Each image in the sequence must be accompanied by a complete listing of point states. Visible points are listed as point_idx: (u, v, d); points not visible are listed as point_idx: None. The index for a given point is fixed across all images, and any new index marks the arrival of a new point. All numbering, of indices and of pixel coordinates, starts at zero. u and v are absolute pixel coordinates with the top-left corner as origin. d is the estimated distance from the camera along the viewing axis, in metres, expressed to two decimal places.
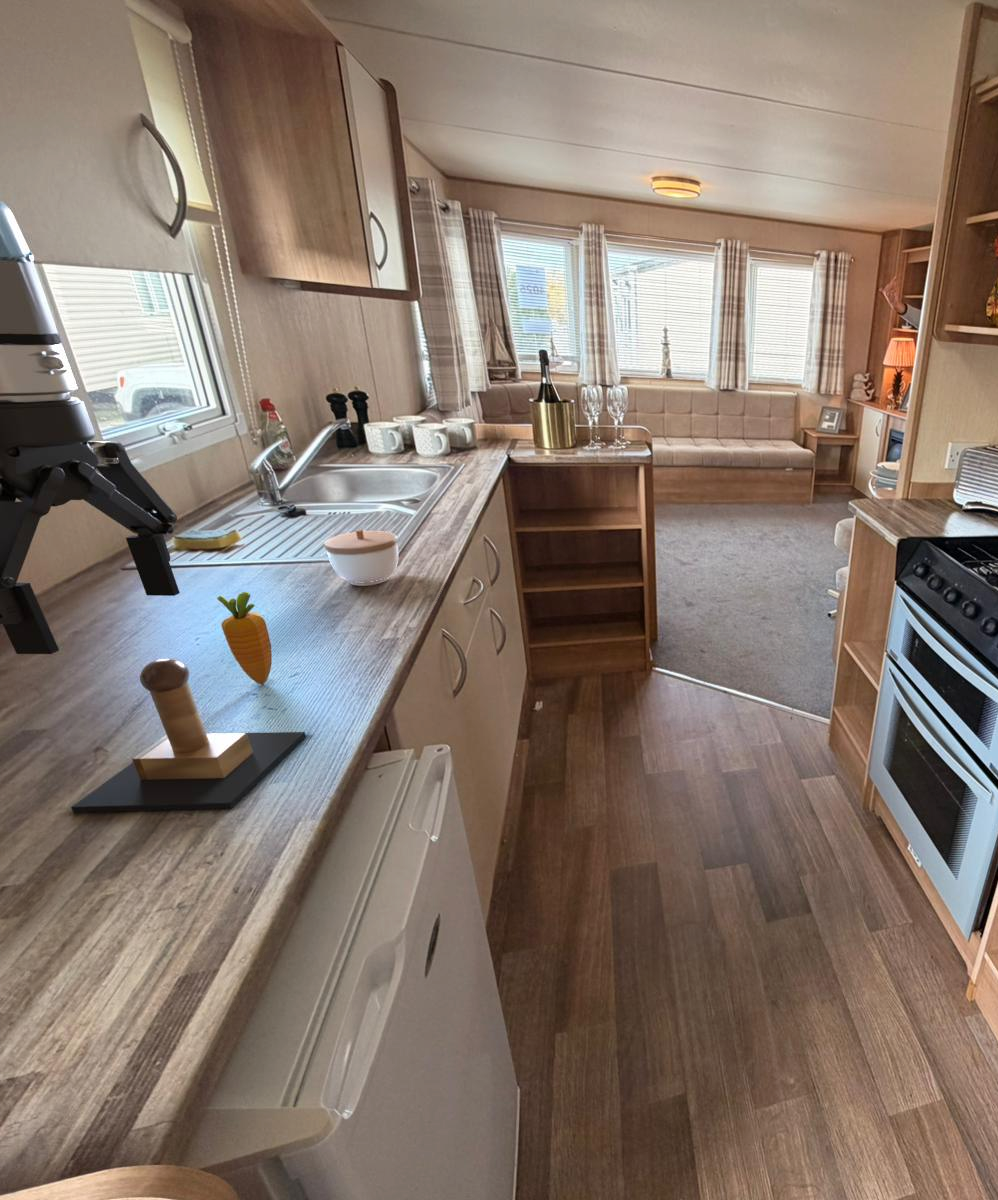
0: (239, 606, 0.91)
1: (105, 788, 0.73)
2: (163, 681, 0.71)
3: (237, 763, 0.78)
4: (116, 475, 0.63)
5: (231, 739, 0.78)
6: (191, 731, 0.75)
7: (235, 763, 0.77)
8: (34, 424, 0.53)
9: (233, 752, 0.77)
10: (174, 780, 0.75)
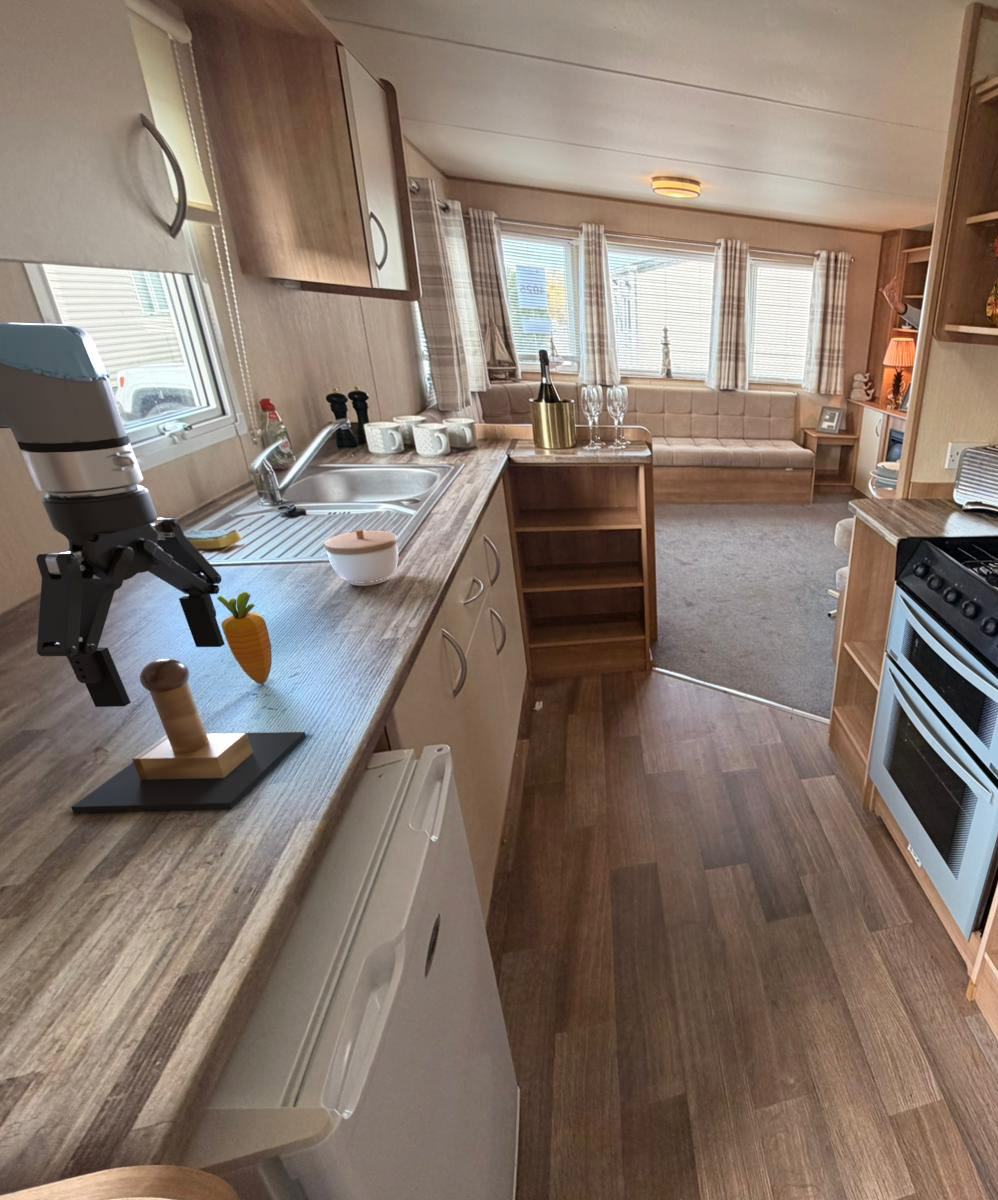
0: (239, 606, 0.91)
1: (105, 788, 0.73)
2: (163, 681, 0.71)
3: (237, 763, 0.78)
4: (171, 546, 0.73)
5: (231, 739, 0.78)
6: (191, 731, 0.75)
7: (235, 763, 0.77)
8: (110, 514, 0.63)
9: (233, 752, 0.77)
10: (174, 780, 0.75)
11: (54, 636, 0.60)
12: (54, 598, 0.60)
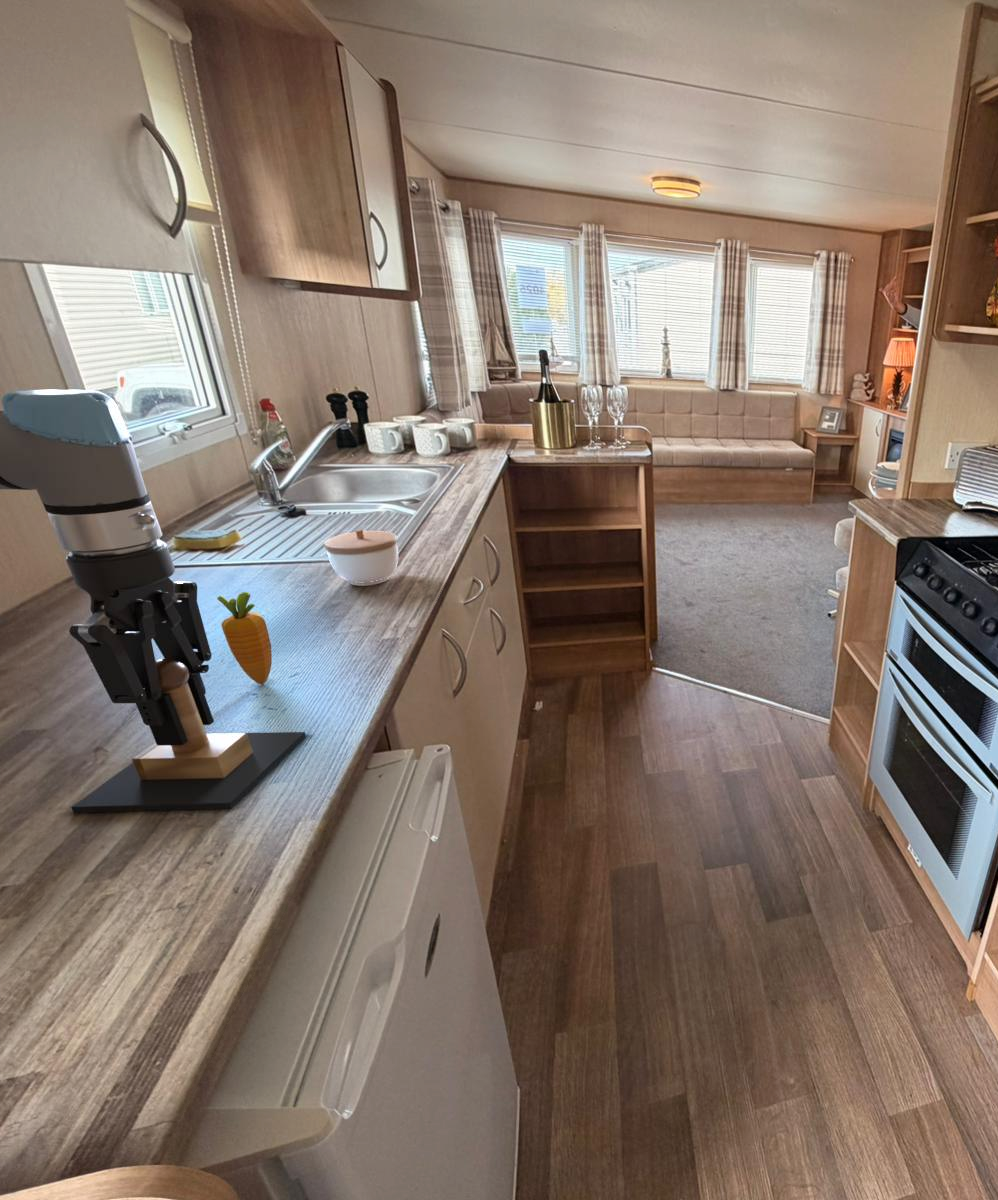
0: (239, 606, 0.91)
1: (105, 788, 0.73)
2: (163, 681, 0.71)
3: (237, 763, 0.78)
4: (179, 609, 0.74)
5: (231, 739, 0.78)
6: (191, 731, 0.75)
7: (235, 763, 0.77)
8: (131, 571, 0.65)
9: (233, 752, 0.77)
10: (174, 780, 0.75)
11: (121, 691, 0.67)
12: (104, 662, 0.65)
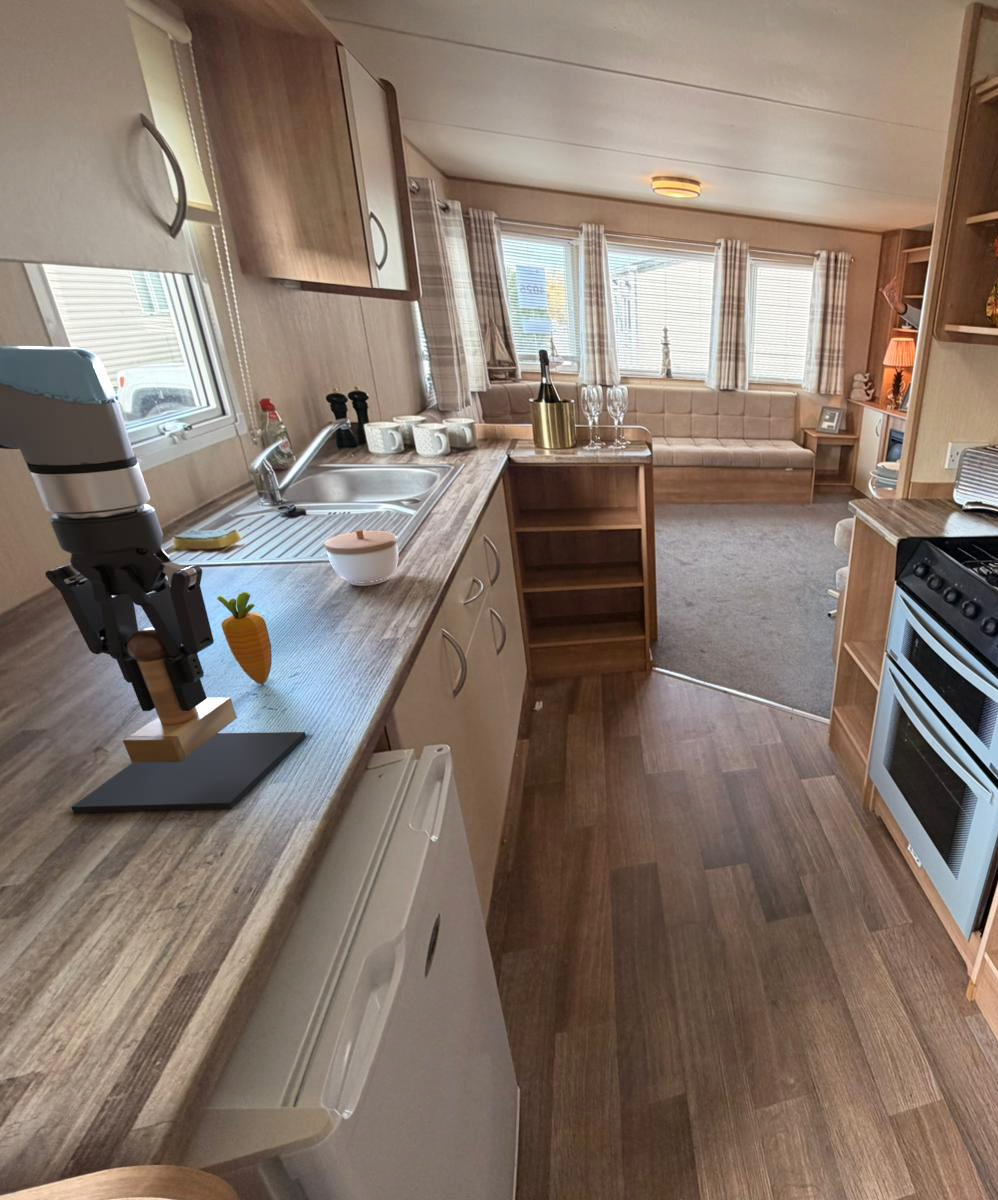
0: (239, 606, 0.91)
1: (105, 788, 0.73)
2: None
3: None
4: (86, 592, 0.68)
5: None
6: None
7: None
8: None
9: None
10: (174, 780, 0.75)
11: (204, 634, 0.71)
12: (195, 605, 0.70)
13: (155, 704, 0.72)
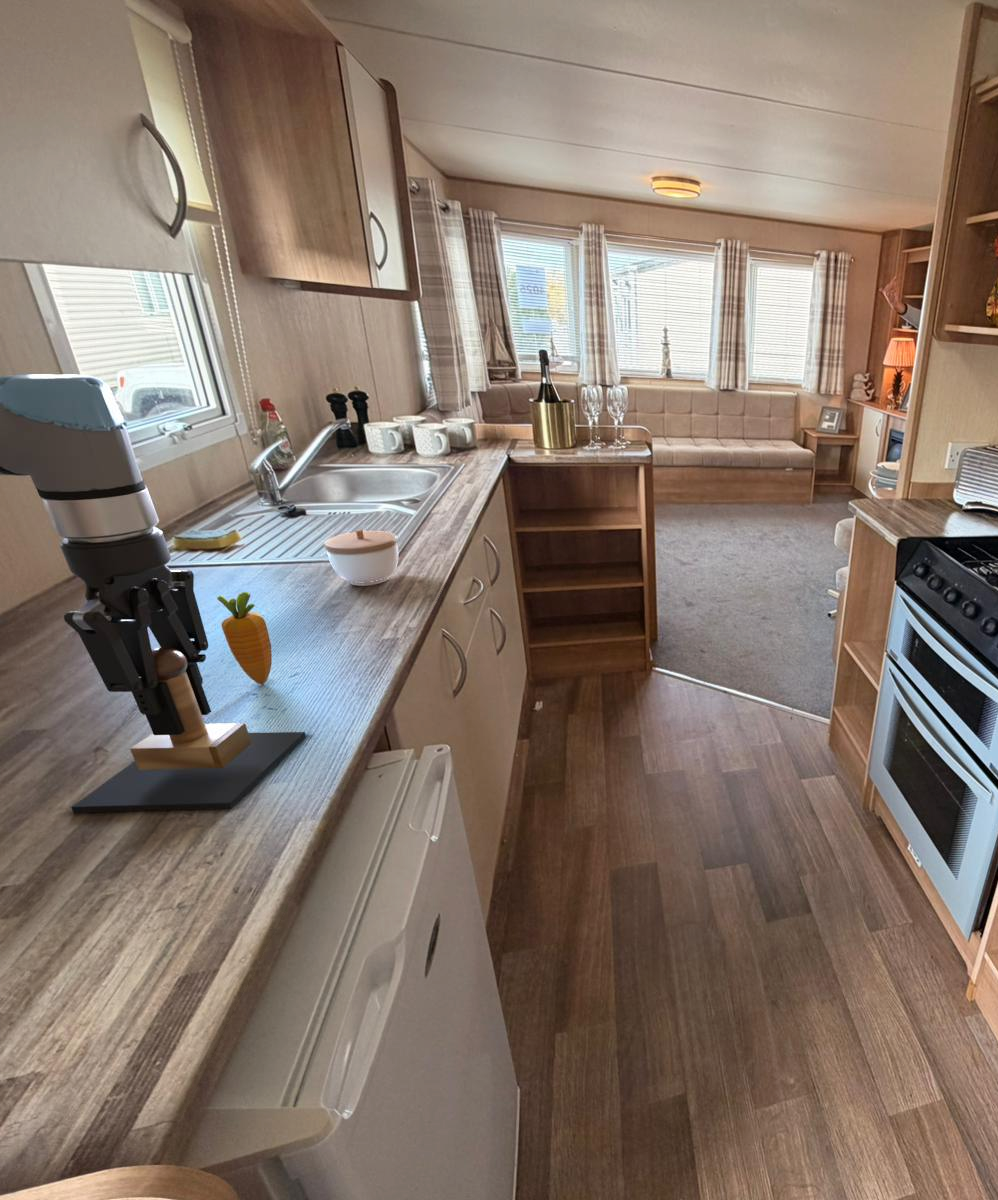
0: (239, 606, 0.91)
1: (105, 788, 0.73)
2: None
3: None
4: None
5: (146, 741, 0.74)
6: None
7: None
8: None
9: None
10: (174, 780, 0.75)
11: None
12: None
13: (191, 718, 0.74)
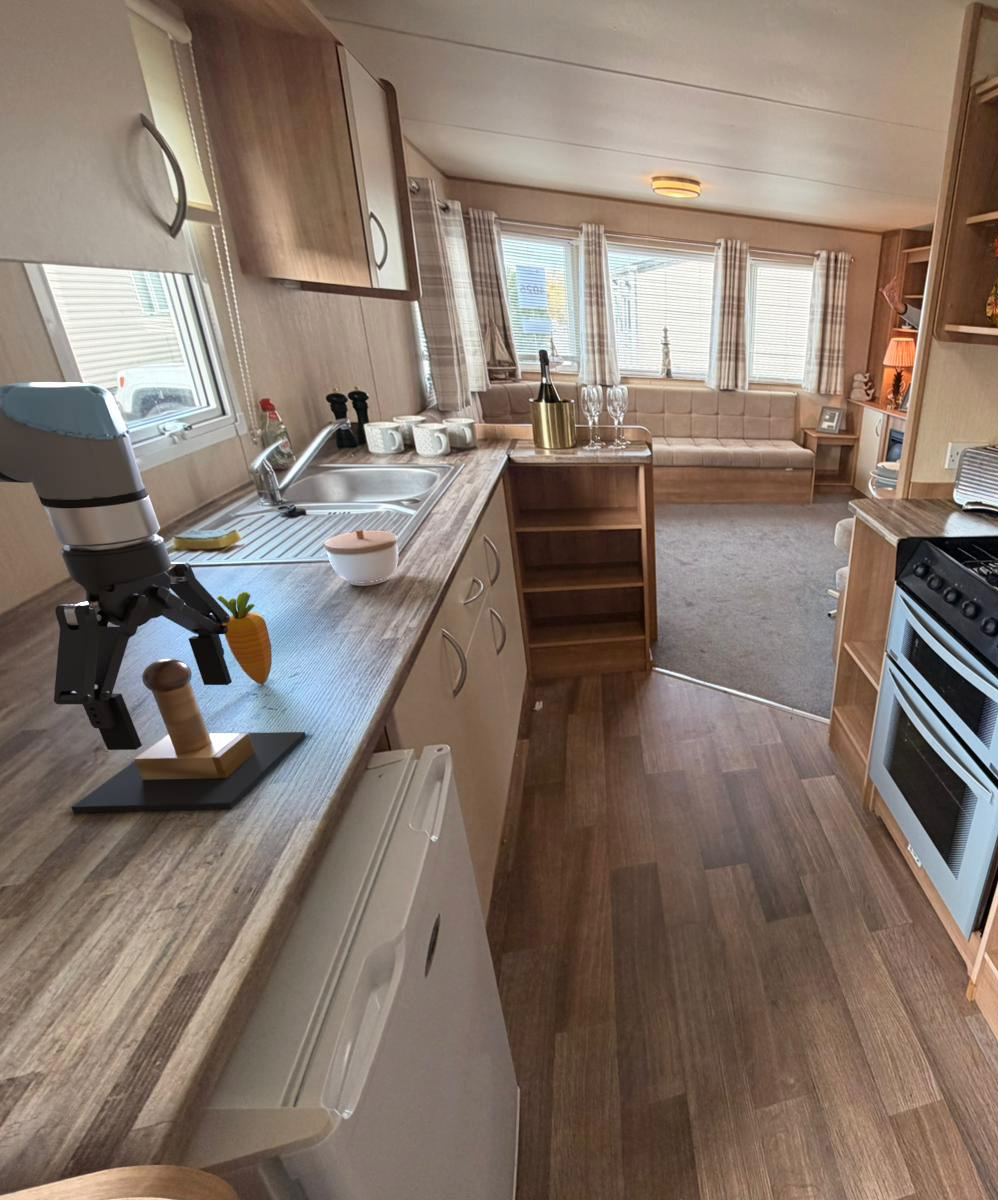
0: (239, 606, 0.91)
1: (105, 788, 0.73)
2: None
3: None
4: None
5: (150, 751, 0.75)
6: None
7: None
8: None
9: None
10: (174, 780, 0.75)
11: None
12: None
13: (195, 729, 0.75)
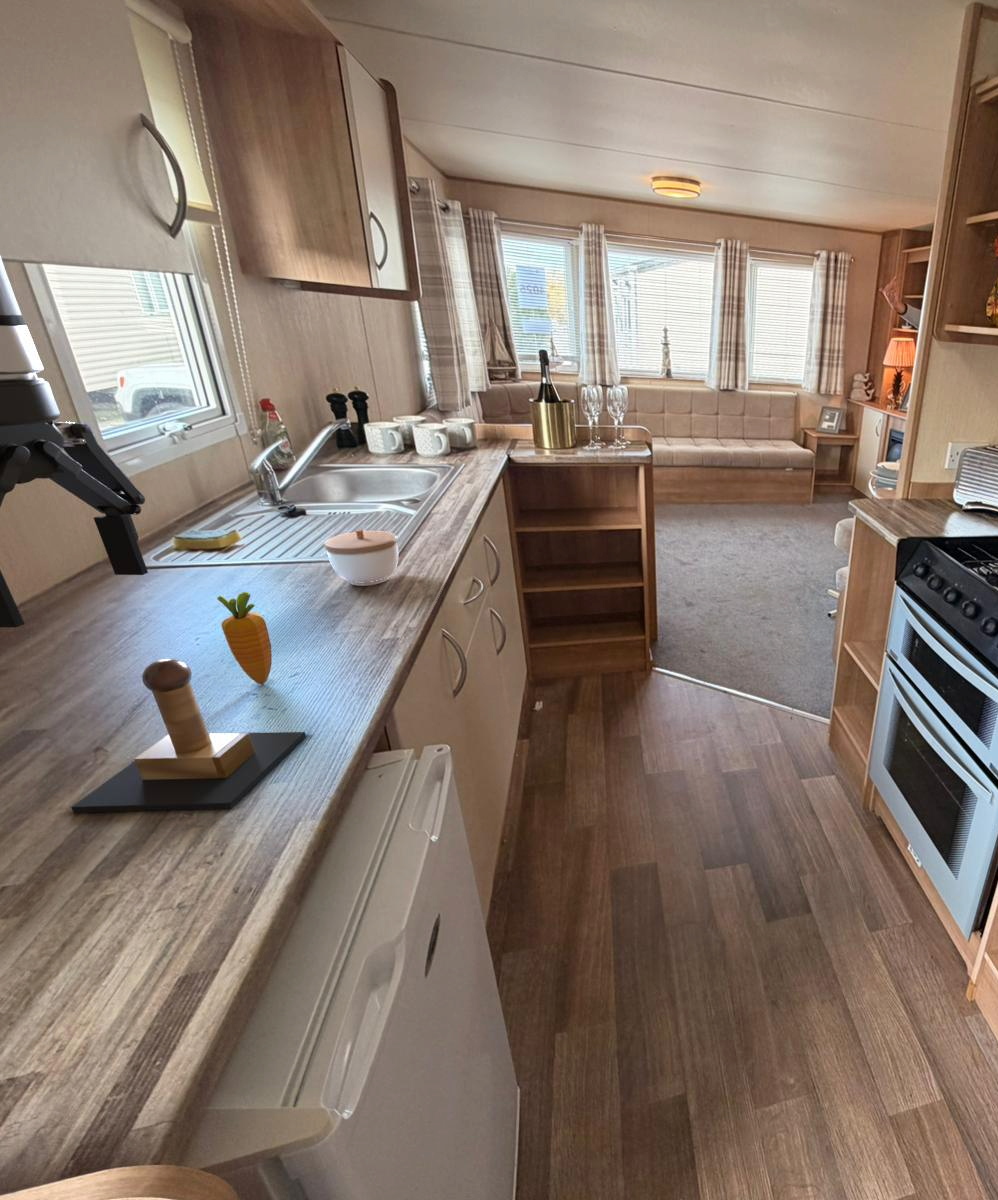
0: (239, 606, 0.91)
1: (105, 788, 0.73)
2: None
3: None
4: None
5: (150, 751, 0.75)
6: None
7: None
8: None
9: None
10: (174, 780, 0.75)
11: None
12: None
13: (195, 729, 0.75)
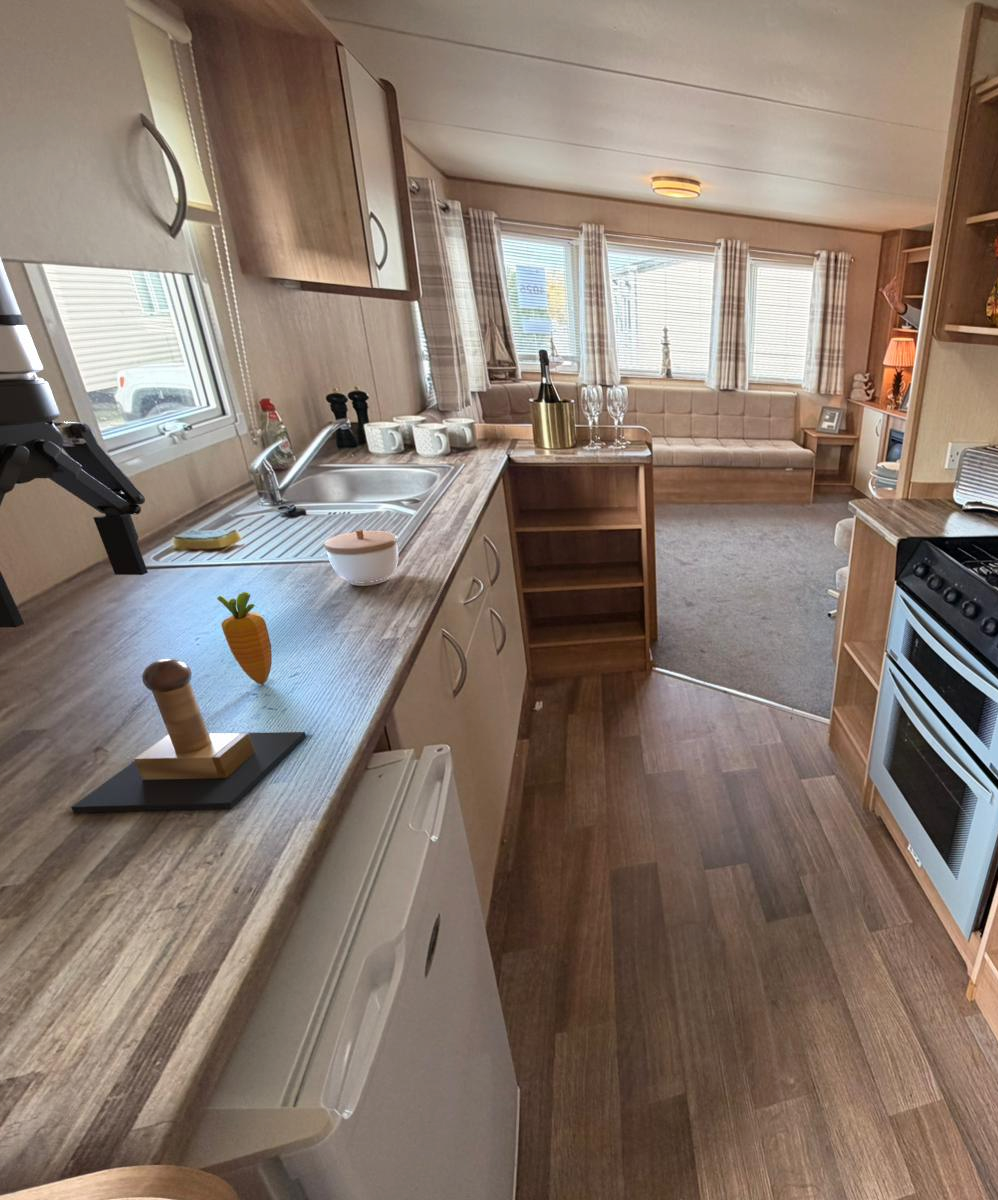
0: (239, 606, 0.91)
1: (105, 788, 0.73)
2: None
3: None
4: None
5: (150, 751, 0.75)
6: None
7: None
8: None
9: None
10: (174, 780, 0.75)
11: None
12: None
13: (195, 729, 0.75)
